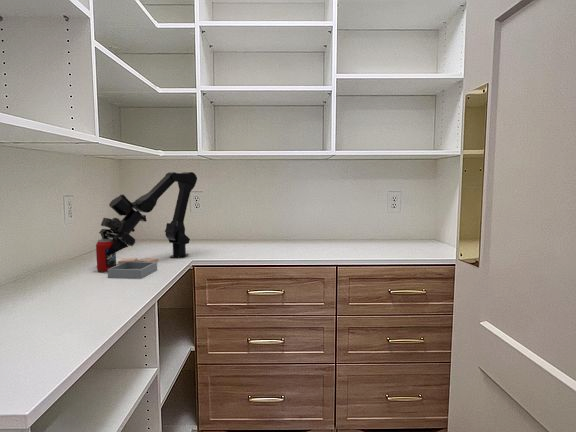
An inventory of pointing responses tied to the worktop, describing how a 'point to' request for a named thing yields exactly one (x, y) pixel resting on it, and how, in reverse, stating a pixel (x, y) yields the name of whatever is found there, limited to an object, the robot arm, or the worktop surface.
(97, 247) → the beverage can
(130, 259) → the tile
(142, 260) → the tile
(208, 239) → the worktop surface
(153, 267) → the tray
